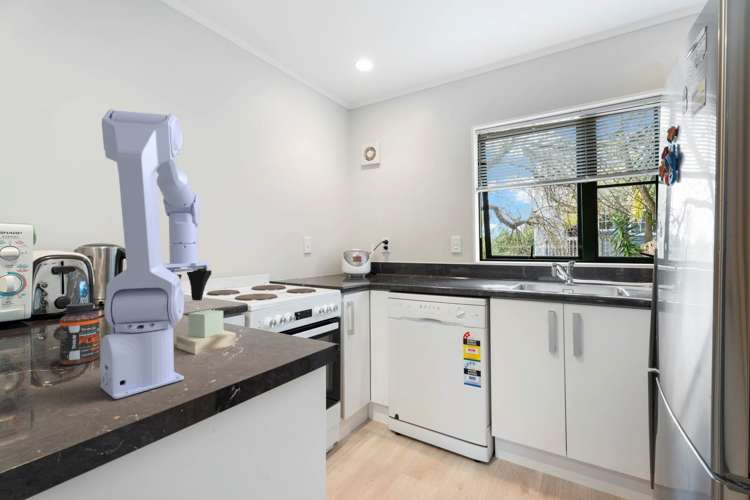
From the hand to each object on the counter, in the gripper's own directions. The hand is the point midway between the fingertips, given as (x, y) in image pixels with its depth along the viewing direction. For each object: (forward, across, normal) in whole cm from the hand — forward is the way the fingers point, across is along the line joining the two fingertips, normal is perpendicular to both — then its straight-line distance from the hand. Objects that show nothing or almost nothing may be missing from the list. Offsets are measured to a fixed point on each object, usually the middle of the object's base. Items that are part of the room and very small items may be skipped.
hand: (184, 302), depth 79 cm
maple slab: (+10, -1, -6) cm, 12 cm away
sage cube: (+7, -1, -6) cm, 9 cm away
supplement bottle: (+10, -15, +11) cm, 21 cm away
